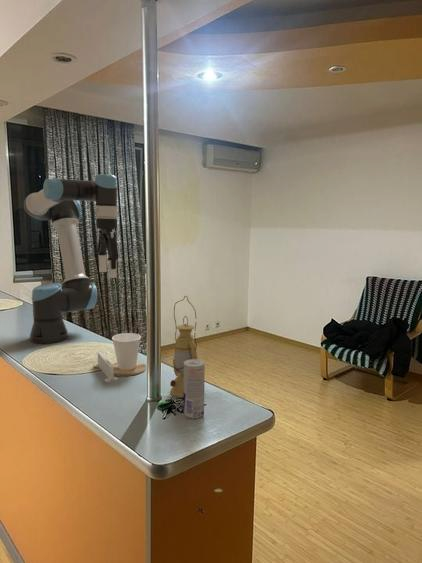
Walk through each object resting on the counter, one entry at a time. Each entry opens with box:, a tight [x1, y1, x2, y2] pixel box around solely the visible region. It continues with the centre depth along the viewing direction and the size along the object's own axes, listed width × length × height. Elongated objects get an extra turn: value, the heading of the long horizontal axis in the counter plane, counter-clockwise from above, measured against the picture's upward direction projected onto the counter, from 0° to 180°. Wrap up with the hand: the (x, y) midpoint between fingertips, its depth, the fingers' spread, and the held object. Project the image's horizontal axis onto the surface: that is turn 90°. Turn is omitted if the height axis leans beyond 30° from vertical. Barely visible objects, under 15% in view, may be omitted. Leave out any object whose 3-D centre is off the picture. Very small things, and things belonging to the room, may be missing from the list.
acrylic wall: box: [93, 351, 119, 383], centre depth 138 cm, size 16×4×5 cm, turn 30°
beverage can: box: [183, 359, 206, 419], centre depth 110 cm, size 6×6×15 cm
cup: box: [111, 332, 142, 370], centre depth 142 cm, size 10×10×11 cm
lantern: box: [169, 295, 199, 398], centre depth 122 cm, size 12×10×30 cm
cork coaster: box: [111, 361, 147, 377], centre depth 142 cm, size 13×13×1 cm
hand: (107, 274), depth 154 cm, fingers open, 13 cm apart
